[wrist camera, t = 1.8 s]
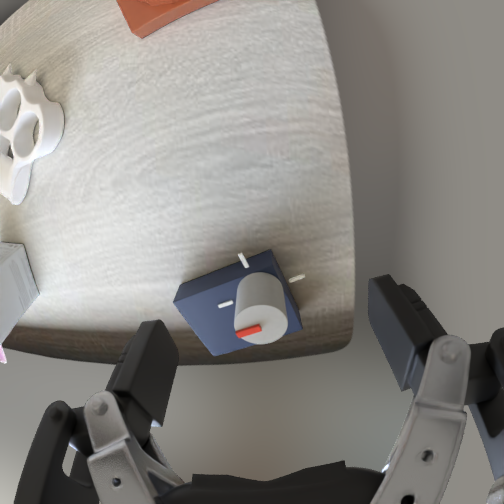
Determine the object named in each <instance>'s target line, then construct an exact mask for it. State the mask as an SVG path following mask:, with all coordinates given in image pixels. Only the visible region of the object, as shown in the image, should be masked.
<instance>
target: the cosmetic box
mask: <svg viewBox="0 0 504 504" xmlns="http://www.w3.org/2000/svg"><path fill="white" fill-rule="evenodd" d="M38 296H39V293H38V290H37V287H36V284H35V281H34V278H33V275H32V272H31V269H30V266H29V263H28V259H27V256H26V252H25V248H24V245H22V244H13V243H3V242H0V345H1V344H2V342H3V341H4V339H5V338H6V337H7V335H8V334H9V332H10V331H11V330H12V328H13V327H14V326H15V324H16V323H17V322H18V320H19V319H20V318H21V317H22V315H23V314H24V313H25V312H26V310H27V309H28V308H29V307H30V305H31V304H32V303H33V302H34V301H35V299H36V298H37V297H38Z"/></svg>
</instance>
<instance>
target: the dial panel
mask: <svg viewBox="0 0 504 504" xmlns="http://www.w3.org/2000/svg"><path fill="white" fill-rule="evenodd" d="M238 256H239V258H240V259H241V261H240V262H238V263H235V264H232V265H230V266H227V267H225V268H222V269H220V270H217V271H215V272H212V273H210V274H207V275H204V276H202V277H199V278H197V279H194V280H192V281H189V282H187V283H184V284H182V285H180V286H179V289H178V291H177V293H176V296H175V298H174V301H173V303H174V305H175V306H176V307H177V309H178V310H179V312H180V313H181V314H182V316H183V317H184V318H185V320H186V321H187V322H188V324H189V325H190V326H191V328H192V329H193V330H194V332H195V333H196V334H197V336H198V337H199V338H200V340H201V341H202V342H203V343H204V345H205V346H206V347H207V348H208V350H209V351H210V352H211V353H212V355H213V356H217V355H221V354H224V353H228V352H232V351H235V350H239V349H242V348H246V347H249V346H252V345H256V344H254V343H250V342H248V341H245V340H244V339H242V338H238V336H237V335H236V331H235V328H234V319H235V308H236V298H237V288H238V285H239V283H240V282H241V280H242V279H243V278H245V277H246V276H248V275H250V274H252V273H257V272H264V273H269V274H271V275H273V276H275V277H276V278H277V279H278V280H279V281H280V282H281V284H282V286H283V292H284V299H285V305H286V312H287V319H288V327H287V330H286V332H285V333H284V335H287V334H290V333H293V332H296V331H299V330H302V329H303V328H302V323H301V318H300V313H299V310H298V307H297V305H296V303H295V301H294V298H293V296H292V294H291V292H290V290H289V287H288V285H287V283H286V281H285V279H284V277H283V274H282V272H281V270H280V268H279V266H278V263H277V261H276V259H275V257H274V255H273V253H272V250H268V251H265V252H263V253H260V254H258V255H255V256H253V257H250V258H248V259H245V257H244V255H243V253H242V252H241V253H239V254H238ZM302 278H305V275H304V273H303V274H300V275H298V276H295V277H292V278H290V279H289V282H290V283H291V282H294V281H297V280H299V279H302ZM284 335H283V336H284Z"/></svg>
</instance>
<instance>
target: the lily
mask: <svg viewBox="0 0 504 504" xmlns="http://www.w3.org/2000/svg"><path fill="white" fill-rule="evenodd" d="M10 332H11V331H10ZM10 332H9V334H10ZM0 362H2V363H6V362H7V361H6V357H5V354H4V351H3V349H2V346H1V345H0Z"/></svg>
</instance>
